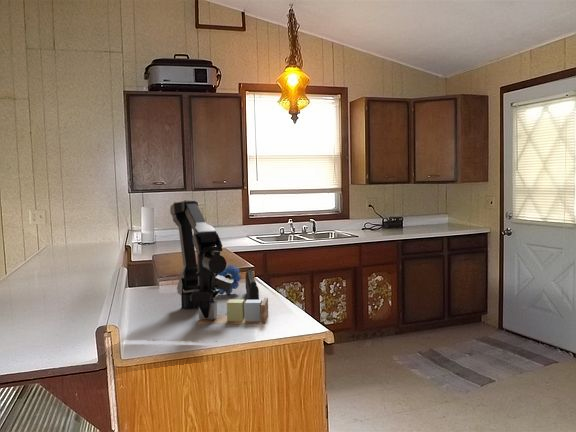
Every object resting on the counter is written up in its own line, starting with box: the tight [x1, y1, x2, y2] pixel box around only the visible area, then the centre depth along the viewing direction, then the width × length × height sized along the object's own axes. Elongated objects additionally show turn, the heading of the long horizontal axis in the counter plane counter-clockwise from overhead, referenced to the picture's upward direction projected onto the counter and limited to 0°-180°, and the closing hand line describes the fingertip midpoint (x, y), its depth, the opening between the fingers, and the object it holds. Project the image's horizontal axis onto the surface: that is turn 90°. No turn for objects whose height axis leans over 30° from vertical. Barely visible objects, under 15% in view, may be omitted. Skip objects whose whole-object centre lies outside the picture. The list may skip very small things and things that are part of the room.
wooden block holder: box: [195, 297, 269, 325], centre depth 152 cm, size 22×9×7 cm, turn 85°
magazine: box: [245, 267, 260, 300], centre depth 177 cm, size 17×3×30 cm
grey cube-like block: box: [198, 300, 218, 320], centre depth 153 cm, size 5×4×5 cm
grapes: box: [215, 264, 242, 295], centre depth 191 cm, size 12×7×12 cm, turn 114°
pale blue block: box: [244, 299, 263, 321], centre depth 151 cm, size 5×4×6 cm
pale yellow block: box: [226, 299, 245, 321], centre depth 152 cm, size 5×4×6 cm
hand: (208, 315), depth 153 cm, fingers closed on grey cube-like block, 4 cm apart
